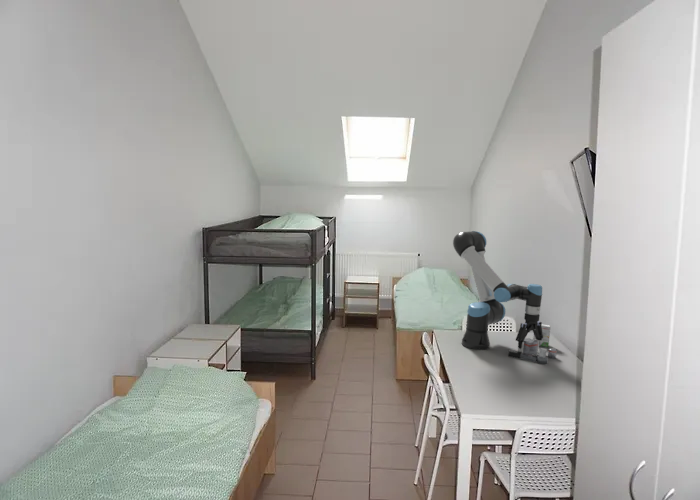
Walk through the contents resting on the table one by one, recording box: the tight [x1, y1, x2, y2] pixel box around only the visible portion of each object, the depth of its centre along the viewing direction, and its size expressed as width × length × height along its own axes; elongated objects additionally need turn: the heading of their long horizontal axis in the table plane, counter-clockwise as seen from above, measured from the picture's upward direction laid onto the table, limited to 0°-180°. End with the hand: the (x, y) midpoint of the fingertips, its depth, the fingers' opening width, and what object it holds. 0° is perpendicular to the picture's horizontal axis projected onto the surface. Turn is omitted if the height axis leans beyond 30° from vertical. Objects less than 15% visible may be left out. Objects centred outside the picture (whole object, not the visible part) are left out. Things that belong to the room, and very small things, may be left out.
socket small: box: [547, 347, 558, 359], centre depth 274 cm, size 4×4×4 cm
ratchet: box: [508, 347, 549, 365], centre depth 269 cm, size 19×6×7 cm, turn 60°
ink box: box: [532, 323, 551, 348], centre depth 295 cm, size 8×5×12 cm, turn 70°
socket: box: [521, 337, 538, 355], centre depth 279 cm, size 6×6×7 cm
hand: (528, 352), depth 279 cm, fingers open, 11 cm apart
